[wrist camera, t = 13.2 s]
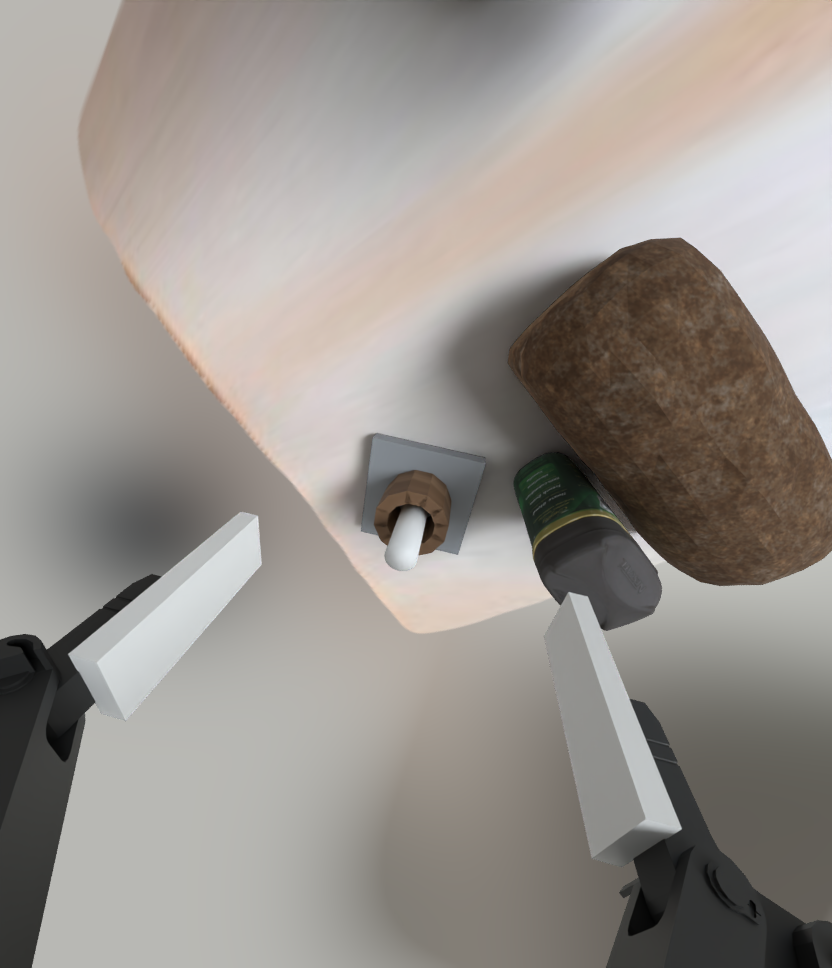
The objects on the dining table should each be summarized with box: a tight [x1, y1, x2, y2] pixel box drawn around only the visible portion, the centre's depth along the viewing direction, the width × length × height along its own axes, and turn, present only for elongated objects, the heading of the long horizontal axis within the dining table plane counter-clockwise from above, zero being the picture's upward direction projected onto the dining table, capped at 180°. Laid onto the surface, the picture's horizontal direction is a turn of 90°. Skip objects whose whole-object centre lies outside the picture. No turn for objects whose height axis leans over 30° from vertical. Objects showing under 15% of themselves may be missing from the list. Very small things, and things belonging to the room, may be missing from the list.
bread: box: [508, 238, 832, 586], centre depth 29 cm, size 15×32×16 cm, turn 44°
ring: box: [374, 470, 452, 555], centre depth 39 cm, size 8×8×6 cm
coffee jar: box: [514, 453, 662, 631], centre depth 33 cm, size 10×8×19 cm
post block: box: [361, 433, 486, 571], centre depth 38 cm, size 14×14×14 cm
